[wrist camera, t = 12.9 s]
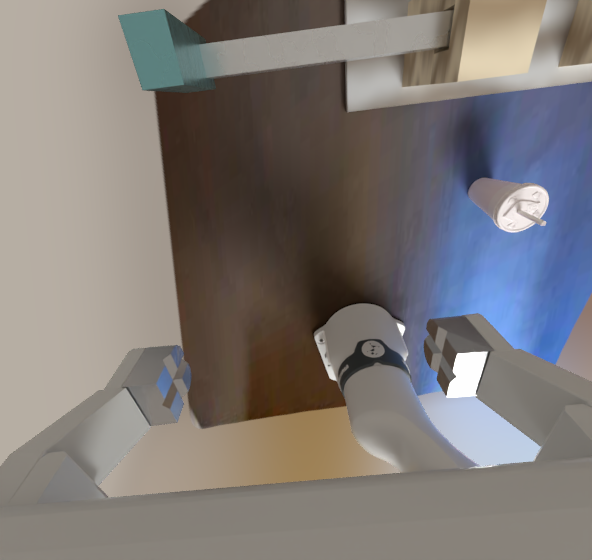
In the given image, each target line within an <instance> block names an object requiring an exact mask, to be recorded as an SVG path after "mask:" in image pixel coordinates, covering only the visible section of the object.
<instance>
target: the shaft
mask: <svg viewBox="0 0 592 560" xmlns="http://www.w3.org/2000/svg"><path fill="white" fill-rule="evenodd" d="M453 14H454V10H449V11H441V12H434V13H427V14H419V15H412V16H405V17H397V18H390V19H383V20H375V21H368V22H361V23H353V24H346V25H339V26H331V27H324V28H317V29H309V30H302V31H295V32H287V33H280V34H273V35H265V36H258V37H251V38H243V39H236V40H229V41H221V42H214V43H207V44H206V41H205V39H204V38H203V37H202V36H200V35H199V34H197V33H196V32H195V31H193V30H192V29H191V28H189V27H188V26H187V25H185V24H184V23H182V22H181V21H180V20H178V19H177V18H176V17H174V16H173V15H171V14H170V13H169V12H167V11H166V10H165V9H161V10H154V11H146V12H139V13H132V14H125V15H118V17H119V20H120V23H121V26H122V29H123V32H124V35H125V38H126V41H127V44H128V47H129V50H130V53H131V56H132V59H133V62H134V66H135V68H136V71H137V74H138V77H139V81H140V84H141V87H142V90H147V91H165V92H183V93H189V92H197V91H205V90H212V89H216V87H215V83H214V79H217V78H225V77H233V76H240V75H248V74H255V73H263V72H270V71H278V70H286V69H293V68H301V67H308V66H316V65H323V64H331V63H338V62H346V61H354V60H361V59H369V58H376V57H384V56H391V55H399V54H407V53H414V52H422V51H429V50H437V49H444V48H449V43H450V36H451V28H452V21H453Z"/></svg>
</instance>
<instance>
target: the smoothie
mask: <svg viewBox="0 0 592 560" xmlns="http://www.w3.org/2000/svg"><path fill="white" fill-rule="evenodd" d="M468 196H469V198H470V199H471V200H472V201H473V202H474V203H475V204H476V205H477V206H479V207H480V208H481V209H482V210H483V211H484V212H485V213H486V214H487V215H489V216H490V217H491V218H492V219H493V220H494V223H495V224H496V226H497V227H499V228H500V229H503V230H504V231H507V232H519V231H522V230H525V229H527V228H529V227H530V226H532V225H533V224H535V223H537V224H539V225H541V226H544V225H546V222H545V221H543V220H541V219H540V218H541V217H542V215H543V214H544V212H545V211H546V209H547V206H548V202H549V197H548V193H547V191H546V190H545V189H544V188H543V187H541V186H539V185H537V184H534V183H523V184H520V183H513V182H507V181H501V180H496V179H490V178H480V179H478V180H476V181H475V182H474V183H473V184H472V185H471V186H470V188H469V191H468Z"/></svg>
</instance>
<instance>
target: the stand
mask: <svg viewBox="0 0 592 560" xmlns="http://www.w3.org/2000/svg"><path fill="white" fill-rule="evenodd" d="M449 10H454V14H453V21H452V28H451V36H450V43H449V48H444V49H437V50H429V51H422V52H414V53H407V54H399V55H391V56H384V57H376V58H369V59H361V60H354V61H346V62H345V75H346V112H352V111H360V110H368V109H376V108H384V107H392V106H400V105H408V104H416V103H424V102H432V101H439V100H447V99H455V98H463V97H471V96H479V95H487V94H495V93H503V92H511V91H519V90H526V89H534V88H542V87H550V86H558V85H566V84H574V83H582V82H590V81H592V0H345V25H346V24H353V23H361V22H368V21H375V20H383V19H390V18H397V17H405V16H412V15H419V14H427V13H434V12H441V11H449Z"/></svg>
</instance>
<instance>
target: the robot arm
mask: <svg viewBox="0 0 592 560" xmlns="http://www.w3.org/2000/svg"><path fill="white" fill-rule="evenodd" d="M426 329H427V331H428V332H429V335H428V336H427V337H426V338H425V340H424V353H425V357H426V360H427V363H428V364H429V366H430V368H431V369H433V370H434V371H436V372H437V373H438V375H437V381H438V383H439V384H440V386H441V388H442V390H443V392H444V393H445V395H446V397H461V396H476V398H478V399H479V400H480V401H482V402H483V403H484V404H485V405H487V406H488V407H489V408H491V409H492V410H493V411H495V412H496V413H497V414H499V415H500V416H501V417H503V418H504V419H505V420H507V421H508V422H509V423H510V424H512V425H513V426H514V427H516V428H517V429H519V430H520V431H521V432H522V433H524V434H525V435H526V436H528V437H529V438H530V439H531V440H533V441H534V442H536V443H537V444H538V445H539V446H541V448H540V450H539V452H538V453H537V455H536V457H535V459H534V461H533V462H523V463H510V464H499V465H487V466H480V465H478V464H477V463H475V462H474V461H472V460H471V459H469V458H468V457H467V456H466V455H464V454H463V453H462V452H461V451H460V450H458V449H457V448H456V447H455V446H454V445H453V444H451V443H450V442H449V441H448V440H447V439H446V438H445V437H444V436H443V435H442V433H441V432H440V431H439V430H438V429H437V428H436V427H435V425H434V424H433V423H432V422H431V420H430V418H429V417H428V415H427V413H426V412H425V410H424V408H423V406H422V404H421V403H420V400H419V398H418V396H417V394H416V392H415V390H414V388H413V386H412V384H411V375H410V371H409V369H408V366H407V364H406V363H405V361H406V358H407V356H408V350H407V348H406V345H405V343H404V340H403V337H402V336H403V333H404V331H405V326H404V324H403V323H402V322H401V321H399V320H396V319H394V318H393V317H392V316H391V315H390V314H389V313H388V312H387V311H386V310H385V309H383V308H382V307H379V306H377V305H373V304H366V303H362V304H354V305H350V306H347V307H345V308H343V309H341V310H339V311H337V312H336V313H335V314H334V315H333V316H332V317H331V318H330V319H329V320H328V322H327V323H326V324H325V325H324V326H323V327H321V328H319V329H318V330H316V331H315V332H314V338H315V341H316V344H317V346H318V349H319V352H320V354H321V357H322V360H323V362H324V365H325V368H326V370H327V373H328V375H329V378H330V379H332V380H335V381H337V382H338V385H339V388H340V390H341V392H342V394H343V396H344V398H345V400H346V405H347V410H348V415H349V420H350V425H351V430H352V433H353V435H354V437H355V439H356V440H357V442H358V443H359V444H360V445H361V446H362V448H363V449H365V450H366V451H367V452H368V453H370V454H371V455H373V456H375V457H377V458H380V459H382V460H384V461H386V462H388V463H389V464H391V465H392V466H394V467H395V468H396V469H397V470H398V471H399V472H400V473H393V474H382V475H370V476H359V477H358V476H357V477H346V478H334V479H323V480H310V481H299V482H287V483H276V484H263V485H252V486H240V487H228V488H216V489H205V490H194V491H181V492H170V493H158V494H146V495H136V496H135V495H134V496H123V497H111V498H108V496H107V495H106V494H105V493H104V492H103V491H102V490H101V489H100V488H99V487H98V486H99V485H100V484H101V483H102V481H103V480H104V479H105V478H106V477H107V476H108V475H109V473H110V472H111V471H112V470H113V469H114V468H115V467H116V466H117V465H118V463H119V462H120V461H121V460H122V459H123V458H124V456H125V455H127V453H128V452H129V451H130V450H131V449H132V448H133V447H134V446H135V444H136V443H137V442H138V441H139V440H140V439H141V438H142V437H143V436H144V434H145V433H146V432H147V431H148V430H149V429H150V426H154V425H162V424H171V423H177V422H178V419H179V416H180V413H181V411H182V408H183V405H184V403H183V401H182V397H183V396H184V395H185V394H186V393H187V392H188V391H189V388H190V384H191V370H190V367H189V364H188V363H187V362H186V361H184V360H183V359H182V357H183V355H184V353H183V351H182V349H181V347H180V346H178V345H174V346H161V347H149V348H138V349H132V350H131V351H129V352H128V354H127V355H126V357H125V358H124V360H123V361H122V363H121V364H120V366H119V367H118V369H117V370H116V372H115V373H114V375H113V377H112V378H111V380H110V381H109V383H108V384H107V386H106V387H105V389H104V390H99V391H97V392H96V393H94V394H93V395H92V396H90V397H89V398H88V399H86V400H85V401H83V402H82V403H81V404H79V405H78V406H76V407H75V408H74V409H72V410H71V411H70V412H68V413H67V414H65V415H64V416H63V417H61V418H60V419H58V420H57V421H56V422H54V423H53V424H52V425H50V426H49V427H47V428H46V429H45V430H43V431H42V432H41V433H39V434H38V435H37V436H35V437H34V438H32V439H31V440H29V441H28V442H27V443H25V444H24V445H23V446H21V447H20V448H18V449H17V450H16V451H14V452H13V453H11V454H10V455H9V456H8V458H7V459H6V460H5V461H4V463H3V464H2V465H1V466H0V560H592V382H591V381H589V380H587V379H585V378H582V377H580V376H578V375H576V374H574V373H572V372H569V371H567V370H565V369H563V368H560V367H558V366H556V365H554V364H552V363H550V362H547V361H545V360H543V359H541V358H539V357H537V356H534V355H532V354H530V353H528V352H526V351H523V350H521V349H514V348H513V347H512V346H511V345H510V344H509V343H508V342H507V341H506V340H505V339H504V338H503V337H502V336H501V335H500V333H499V332H498V331H497V330H496V329H495V328H494V327H493V326H492V325H491V324H490V323H489V322H488V321H487V320H486V319H485V318H484V317H483V316H482V315H480V314H478V313H477V314H469V315H462V316H454V317H445V318H436V319H429V321H428V323H427V328H426ZM320 339H322V340H320Z"/></svg>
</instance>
